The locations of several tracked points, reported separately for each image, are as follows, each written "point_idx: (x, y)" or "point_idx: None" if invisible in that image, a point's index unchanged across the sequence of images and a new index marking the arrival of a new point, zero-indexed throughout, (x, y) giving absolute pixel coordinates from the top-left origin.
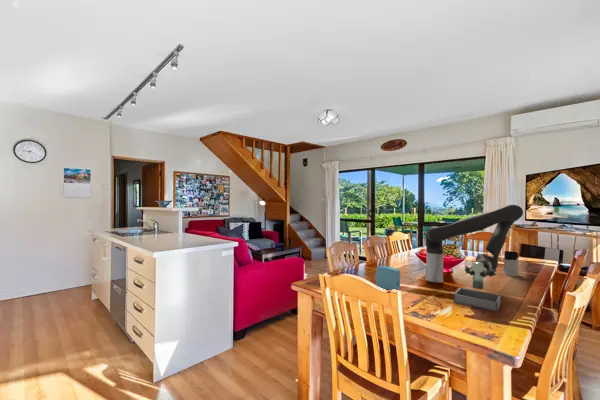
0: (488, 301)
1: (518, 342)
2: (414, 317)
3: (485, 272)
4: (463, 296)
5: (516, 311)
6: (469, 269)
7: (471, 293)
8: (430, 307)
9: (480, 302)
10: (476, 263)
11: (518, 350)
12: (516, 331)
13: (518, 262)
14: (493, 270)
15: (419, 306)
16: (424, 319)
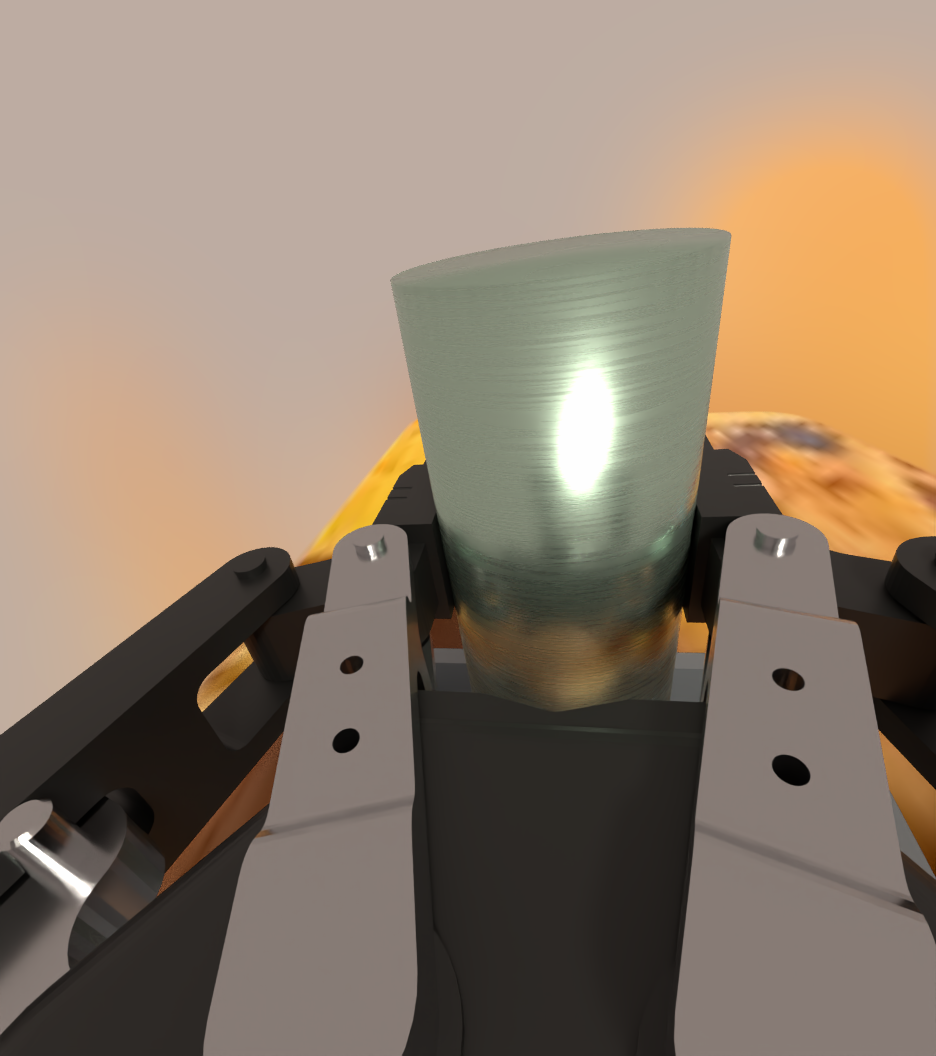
0: (452, 650)
1: (391, 458)
2: (772, 418)
3: (396, 517)
4: (697, 658)
5: (209, 831)
6: (844, 573)
7: None
8: (825, 522)
9: None
10: (573, 240)
11: (406, 431)
12: (369, 513)
13: None
14: (82, 685)
15: (885, 501)
16: (727, 425)
